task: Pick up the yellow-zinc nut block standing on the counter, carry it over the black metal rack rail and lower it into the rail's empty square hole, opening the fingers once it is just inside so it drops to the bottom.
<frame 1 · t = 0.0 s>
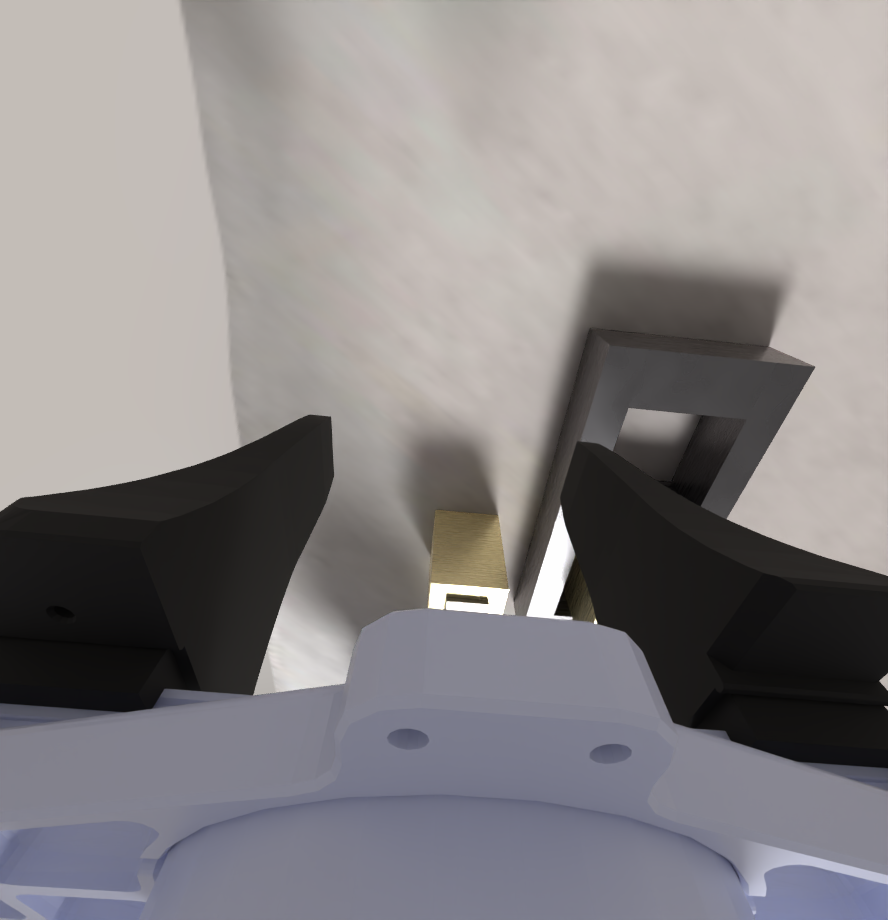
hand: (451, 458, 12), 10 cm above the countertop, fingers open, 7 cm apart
rack rail: (616, 500, 25), on the countertop
seated nut: (594, 553, 28), resting in rack rail
nut block: (463, 536, 27), on the countertop
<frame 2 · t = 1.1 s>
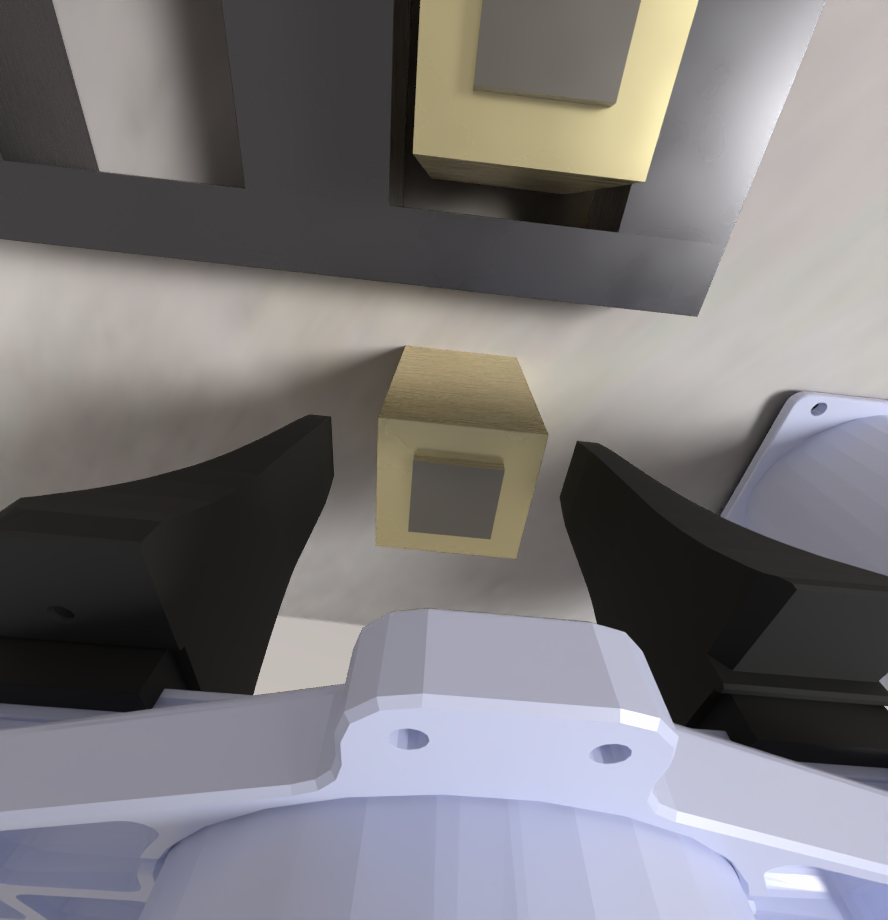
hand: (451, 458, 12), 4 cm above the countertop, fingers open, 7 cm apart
rack rail: (343, 76, 11), on the countertop
seated nut: (511, 97, 11), resting in rack rail
nut block: (455, 403, 16), on the countertop
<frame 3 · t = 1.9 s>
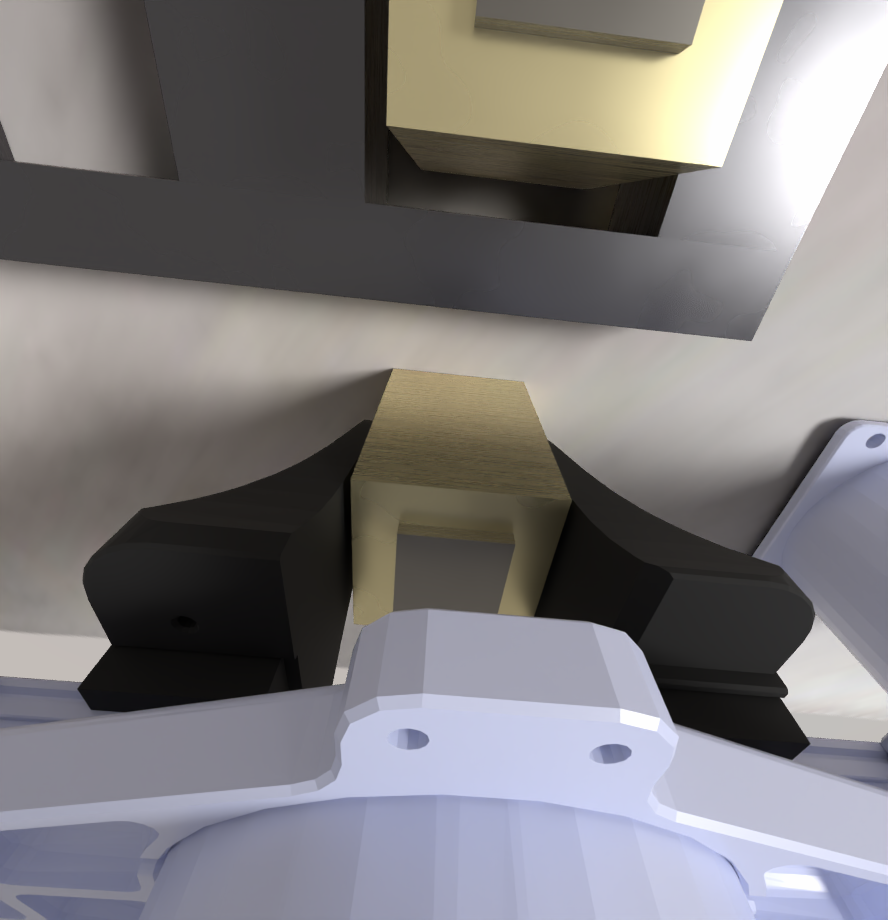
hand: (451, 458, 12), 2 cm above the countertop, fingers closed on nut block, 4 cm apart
rack rail: (310, 40, 9), on the countertop
seated nut: (519, 69, 9), resting in rack rail
nut block: (451, 433, 14), on the countertop, touching gripper
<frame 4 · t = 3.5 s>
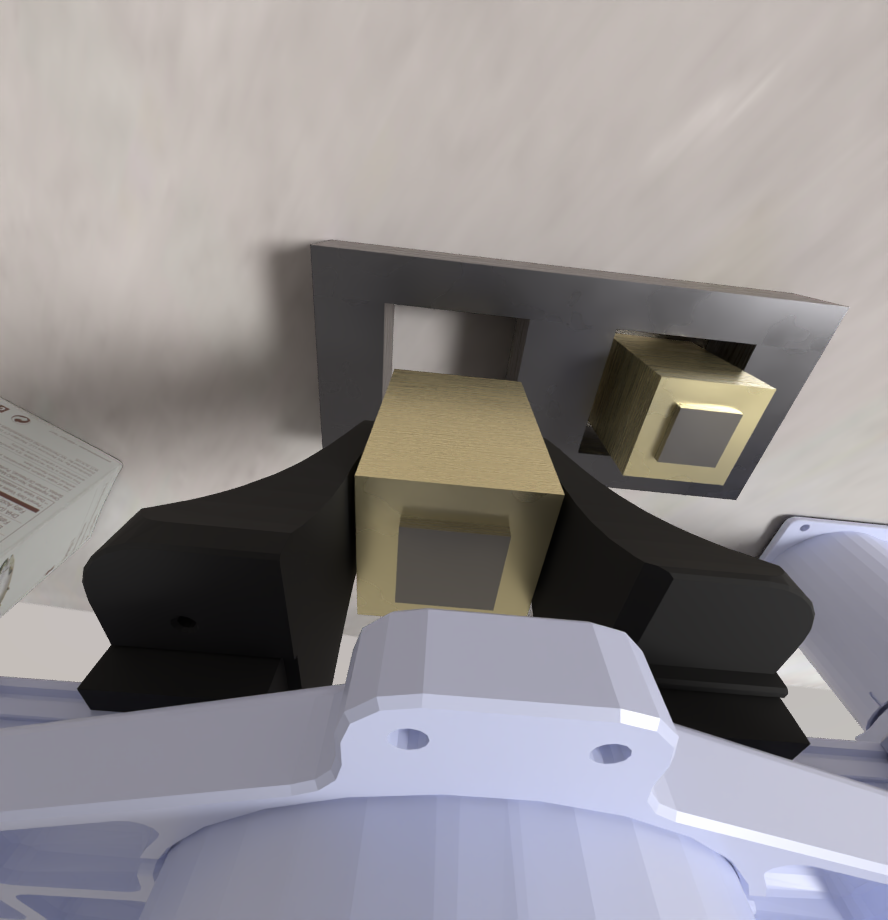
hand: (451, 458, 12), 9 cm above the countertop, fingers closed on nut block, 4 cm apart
rack rail: (542, 368, 20), on the countertop
seated nut: (633, 377, 20), resting in rack rail
nut block: (451, 431, 14), point 7 cm above the countertop, touching gripper
supplement box: (48, 467, 24), on the countertop
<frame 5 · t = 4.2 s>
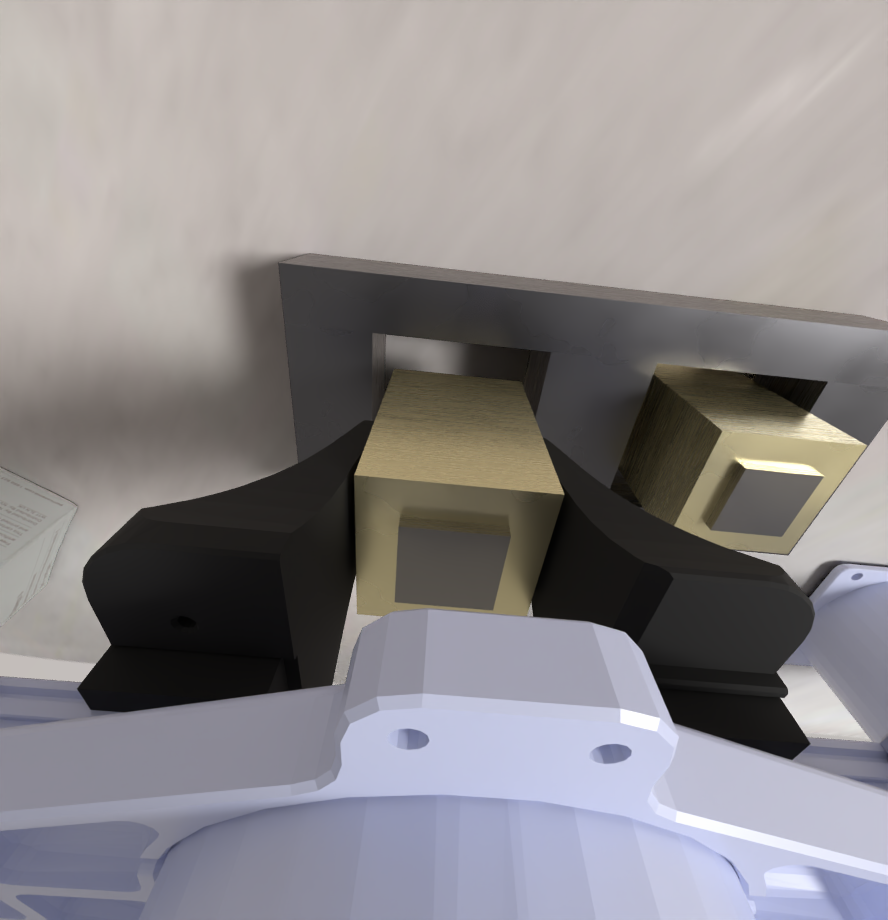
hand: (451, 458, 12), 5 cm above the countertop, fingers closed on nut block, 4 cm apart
rack rail: (561, 401, 17), on the countertop
seated nut: (667, 412, 17), resting in rack rail
nut block: (451, 431, 14), point 3 cm above the countertop, touching gripper
when the fingers open (4 cm above the countertop, at t = 5.0 s): nut block drops 1 cm, resting in rack rail.
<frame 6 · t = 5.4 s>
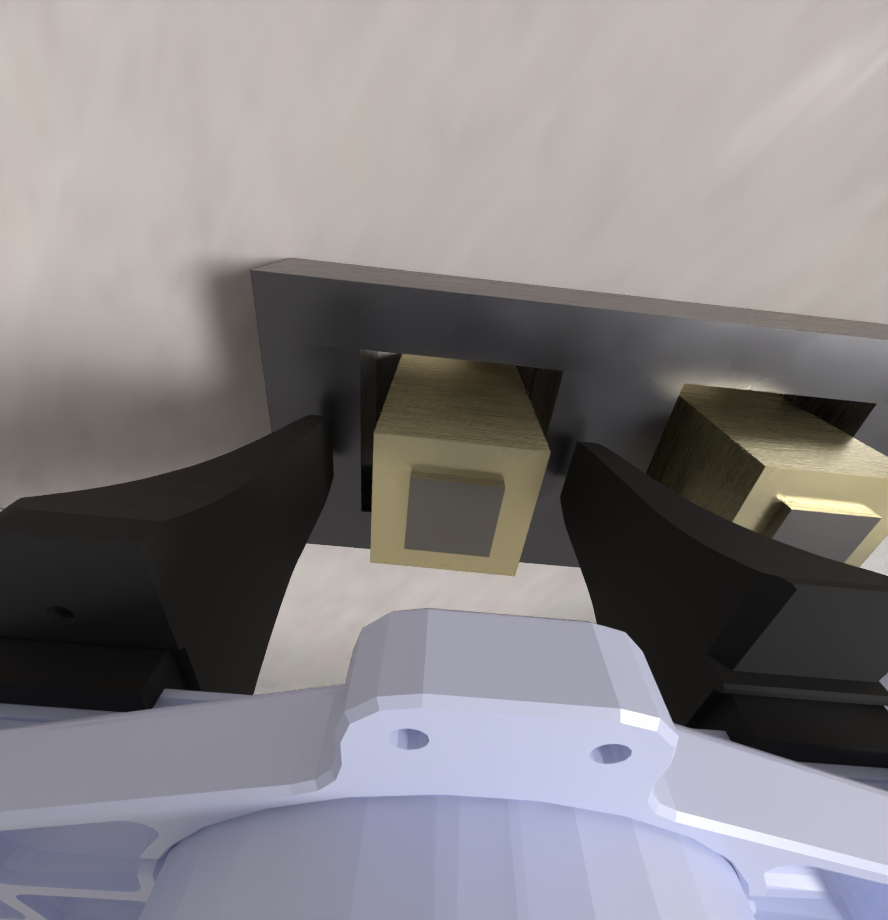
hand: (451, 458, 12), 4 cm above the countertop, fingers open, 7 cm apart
rack rail: (571, 420, 15), on the countertop
seated nut: (687, 431, 16), resting in rack rail
nut block: (452, 411, 15), resting in rack rail
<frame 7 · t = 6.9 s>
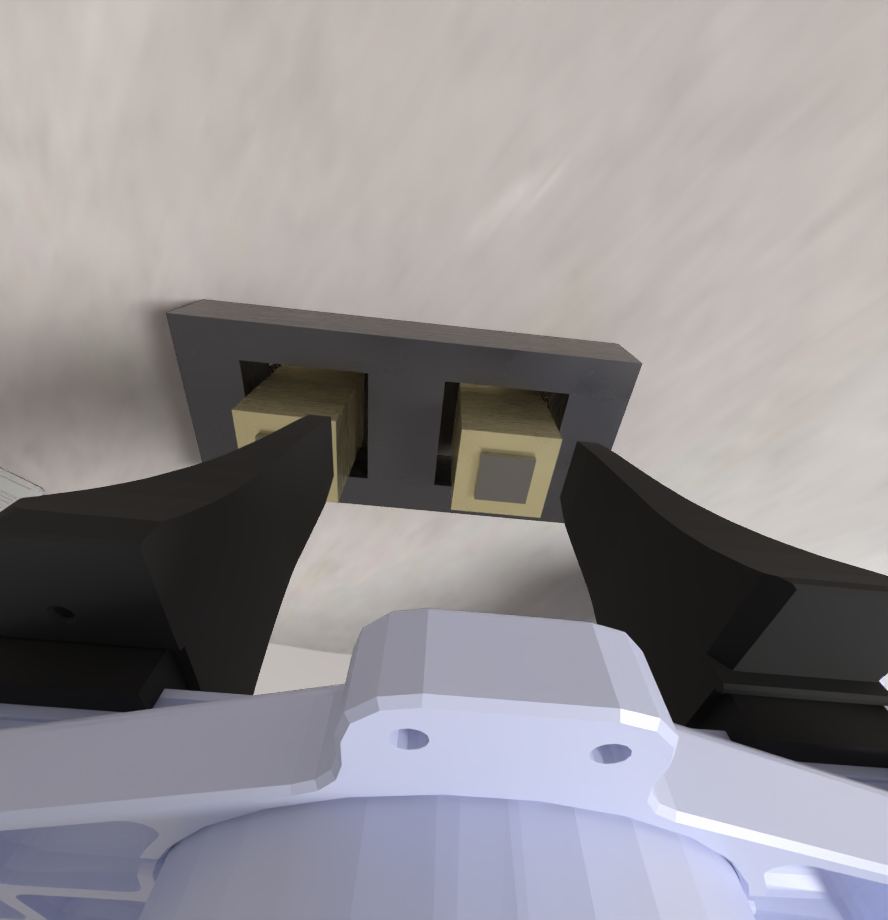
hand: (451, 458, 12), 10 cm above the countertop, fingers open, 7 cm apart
rack rail: (409, 407, 22), on the countertop
seated nut: (492, 415, 22), resting in rack rail
nut block: (326, 401, 22), resting in rack rail
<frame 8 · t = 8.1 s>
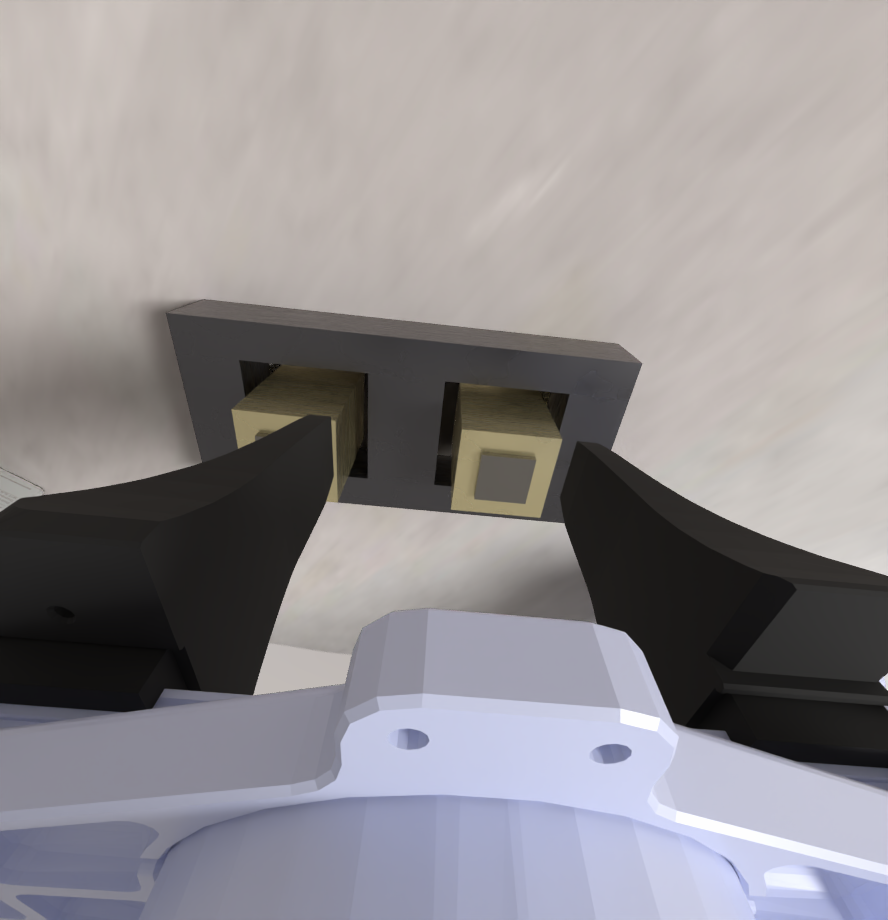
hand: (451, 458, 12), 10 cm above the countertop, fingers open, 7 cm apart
rack rail: (409, 407, 22), on the countertop
seated nut: (492, 415, 22), resting in rack rail
nut block: (326, 401, 22), resting in rack rail
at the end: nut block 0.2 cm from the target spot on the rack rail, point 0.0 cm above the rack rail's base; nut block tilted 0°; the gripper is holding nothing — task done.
